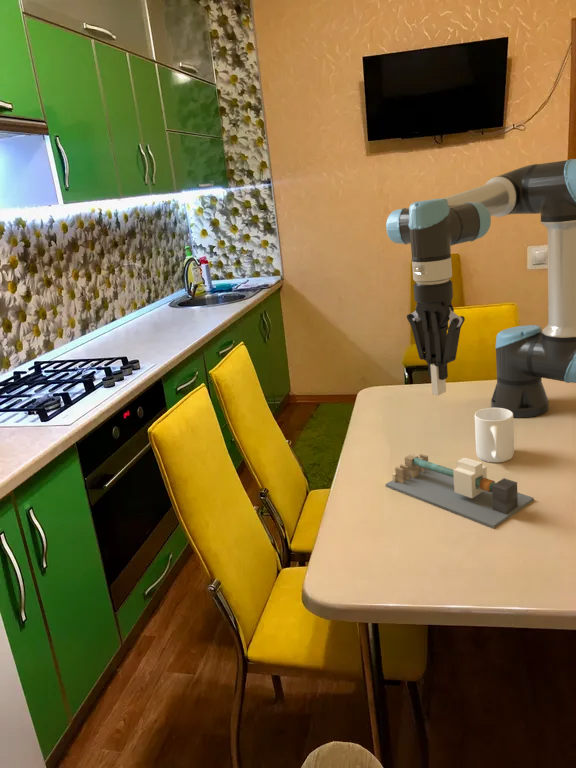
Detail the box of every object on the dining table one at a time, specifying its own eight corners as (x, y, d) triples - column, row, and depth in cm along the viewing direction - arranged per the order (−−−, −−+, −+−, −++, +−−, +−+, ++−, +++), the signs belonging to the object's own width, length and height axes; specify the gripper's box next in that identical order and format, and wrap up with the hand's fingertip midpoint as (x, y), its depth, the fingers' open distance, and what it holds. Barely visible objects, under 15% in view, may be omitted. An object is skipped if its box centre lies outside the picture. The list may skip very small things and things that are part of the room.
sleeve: (469, 482, 133) (468, 454, 131) (487, 488, 129) (486, 460, 127) (454, 492, 130) (452, 463, 128) (472, 498, 126) (470, 469, 124)
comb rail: (421, 467, 146) (419, 444, 145) (526, 503, 125) (525, 476, 124) (392, 483, 141) (390, 459, 139) (497, 523, 120) (496, 496, 118)
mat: (425, 464, 148) (425, 462, 148) (533, 500, 126) (533, 497, 126) (385, 486, 140) (385, 484, 140) (493, 528, 118) (493, 525, 118)
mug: (477, 470, 142) (475, 427, 138) (475, 448, 153) (473, 408, 149) (517, 470, 139) (516, 426, 136) (512, 447, 150) (511, 406, 147)
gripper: (394, 283, 125) (403, 393, 132) (447, 285, 115) (453, 404, 122) (419, 276, 129) (426, 383, 136) (472, 278, 119) (476, 393, 126)
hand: (439, 393), depth 129 cm, fingers closed
